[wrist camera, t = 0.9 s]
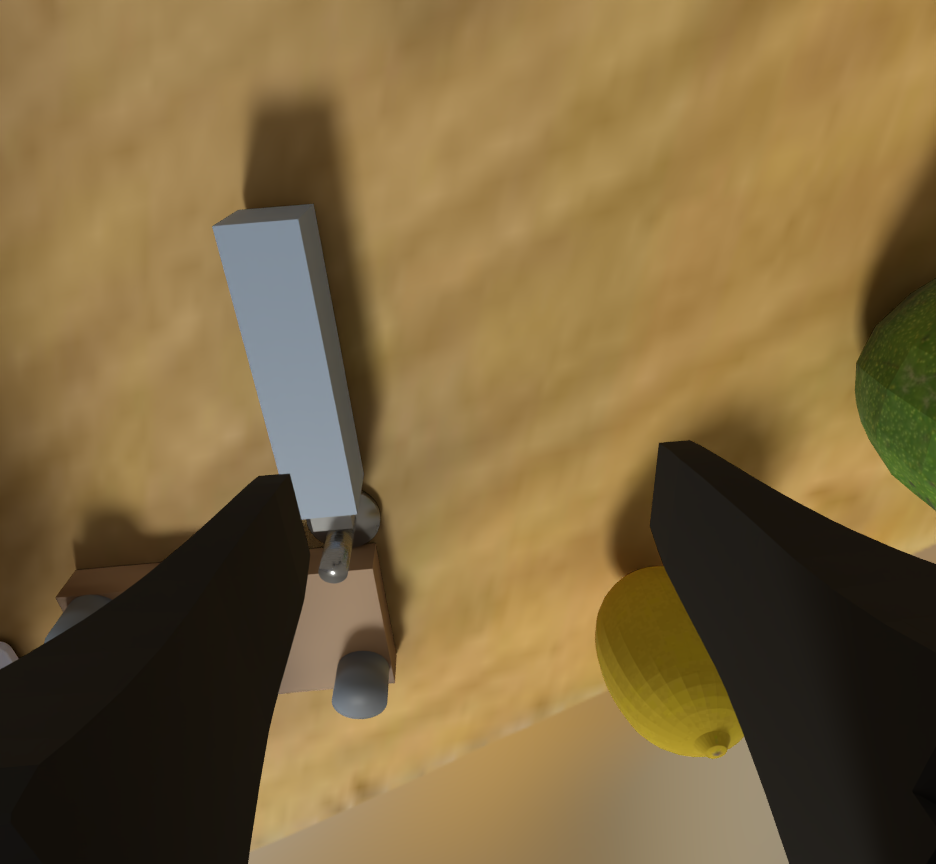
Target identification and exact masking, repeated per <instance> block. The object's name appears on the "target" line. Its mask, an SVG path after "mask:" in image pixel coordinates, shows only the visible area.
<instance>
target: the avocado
mask: <svg viewBox="0 0 936 864" xmlns="http://www.w3.org/2000/svg"><path fill="white" fill-rule="evenodd" d="M855 396H856V404H857V408H858V412H859V416H860V420H861V423H862V425H863V427H864V429H865V431H866V434H867V436H868V438H869V440H870V442H871V443H872V445H873V446H874V448H875V449H876V451H877V453H878V454H879V456H880V457H881V459H882V460H883V462H884V463H885V465H886V466H887V468H888V469H889V471H890V473H891V474H892V475H893V476H894V477H895V478H896V479H898V480H899V481H900V482H901V483H902V484H904V485H905V486H906V487H907V488H908V489H910V490H911V491H912V492H913V493H914V494H915V495H917V496H918V497H919V498H920V499H922V500H923V501H924V502H926V503H927V504H928V505H929V506H930V507H932V508H933V509H934V510H935V511H936V278H935V279H934V280H932V281H931V282H929V283H927V284H926V285H924V286H922V287H921V288H919V289H917V290H916V291H914V292H913V293H911V294H910V295H909V296H908V297H907V298H906V299H905V300H903V301H902V302H901V303H900V304H899V305H898V306H897V307H896V308H895V309H894V310H893V311H892V312H890V313H889V314H888V315H887V316H886V317H885V318H884V319H883V320H882V321H881V322H880V323H878V324H877V325H876V327H875V328H874V330H873V332H872V334H871V336H870V338H869V340H868V342H867V344H866V345H865V347H864V349H863V351H862V353H861V355H860V357H859V359H858V361H857V363H856V381H855Z"/></svg>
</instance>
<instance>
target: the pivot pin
mask: <svg viewBox="0 0 936 864" xmlns="http://www.w3.org/2000/svg"><path fill="white" fill-rule="evenodd" d="M380 517H381V515H380V510H379V507H378V505H377V503H376V501H375V500H374V499H373V498H372V497H371V496H370V495H369V494H367V493H366V492H364V491H362V490H361V495H360V501H359V507H358V513H357V515H355V519H354V525H353V528H350V529H339V530H327V531H316V532H313V528H312V524H311V520H310V519H306V520H307V525H308V528H309V529H310V531H311V533H312V534H313V535H314V536H315V537H316V538H317V539H318V540H319V541H321V542H323V543H324V548H323V553H322V557H321V561H320V566H319V570H318V574H319V576H320V578H321V579H322V580H324V581H325V582H328V583H333V584H334V583H340V582H342V581H344V580H345V579H346V578H347V576H348V570H349V564H350V558H351V552H352V548H355V547H359V546H361V545H364V544H365V543H367V542H369V541H370V540H371V539H372V538H373V537H374V536H375V535H376V533H377V532H378V529H379V526H380Z"/></svg>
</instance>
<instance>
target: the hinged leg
mask: <svg viewBox="0 0 936 864" xmlns="http://www.w3.org/2000/svg"><path fill="white" fill-rule="evenodd" d="M212 227H213V231H214V235H215V238H216V242H217V246H218V250H219V253H220V257H221V261H222V264H223V268H224V272H225V276H226V279H227V283H228V287H229V290H230V294H231V298H232V301H233V305H234V309H235V313H236V316H237V320H238V324H239V327H240V331H241V335H242V339H243V342H244V346H245V350H246V353H247V357H248V361H249V365H250V368H251V372H252V376H253V379H254V383H255V387H256V390H257V394H258V398H259V402H260V405H261V409H262V413H263V416H264V420H265V424H266V428H267V431H268V435H269V439H270V442H271V446H272V450H273V454H274V457H275V461H276V465H277V468H278V472H279V474H290V476H291V480H292V484H293V488H294V492H295V496H296V500H297V503H298V507H299V511H300V515H301V519H310V520H311V524H312V528H313V532H316V531H327V530H339V529H350V528H353V525H354V519H355V515H357V513H358V507H359V501H360V495H361V489H362V483H363V477H364V472H363V467H362V462H361V456H360V451H359V445H358V440H357V435H356V429H355V424H354V419H353V413H352V408H351V402H350V397H349V392H348V386H347V381H346V375H345V370H344V365H343V359H342V354H341V349H340V343H339V338H338V332H337V327H336V322H335V316H334V311H333V305H332V300H331V295H330V289H329V284H328V279H327V273H326V268H325V262H324V257H323V252H322V246H321V241H320V235H319V230H318V225H317V219H316V214H315V209H314V204H305V205H293V206H281V207H269V208H256V209H244V210H237V211H236V212H234V213H232V214H231V215H229V216H228V217H226V218H224V219H223V220H221V221H220V222H218V223H217V224H215V225H213V226H212Z"/></svg>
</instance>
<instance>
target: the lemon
mask: <svg viewBox="0 0 936 864" xmlns="http://www.w3.org/2000/svg"><path fill="white" fill-rule="evenodd" d="M595 643H596V651H597V656H598V660H599V664H600V668H601V671H602V675H603V678H604V681H605V683H606V686H607V688H608V690H609V692H610V694H611V696H612V698H613V699H614V701H615V703H616V704H617V706H618V708H619V709H620V711H621V712H622V713H623V715H624V716H625V718H626V719H627V720H628V721H629V723H630V724H631V726H632V727H633V728H634V729H635V730H636V731H637V732H638V733H639V734H640V735H641V736H643V737H644V738H645V739H647V740H648V741H650V742H651V743H653V744H654V745H656V746H658V747H659V748H661V749H664V750H667V751H669V752H672V753H675V754H678V755H684V756H691V757H705V756H706V757H708V758H712V759H714V758H719V757H721V756H723V755H725V754H726V752H727V749H730V748H731V747H733V746H734V745H736V744H737V743H738V742H739V741H740V740H741V739H742V738H743V737H744V734H743V732H742V729H741V727H740V724H739V722H738V719H737V717H736V714H735V712H734V709H733V707H732V704H731V701H730V699H729V696H728V694H727V691H726V689H725V687H724V685H723V682H722V680H721V678H720V676H719V674H718V672H717V670H716V667H715V665H714V663H713V662H712V660H711V658H710V656H709V654H708V652H707V650H706V648H705V646H704V644H703V642H702V640H701V638H700V637H699V635H698V633H697V631H696V629H695V627H694V625H693V623H692V621H691V619H690V617H689V615H688V614H687V612H686V610H685V608H684V606H683V604H682V602H681V600H680V598H679V596H678V594H677V592H676V590H675V588H674V586H673V584H672V582H671V580H670V578H669V576H668V574H667V572H666V570H665V568H664V566H654V567H646V568H643V569H640V570H636V571H634V572H632V573H630V574H628V575H626V576H625V577H624V578H622V579H621V580H620V581H619V582H617V583H616V584H615V585H614V586H613V587H612V589H611V590H610V591H609V592H608V594H607V595H606V596H605V598H604V600H603V603H602V605H601V607H600V610H599V612H598V616H597V622H596V632H595Z"/></svg>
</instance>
